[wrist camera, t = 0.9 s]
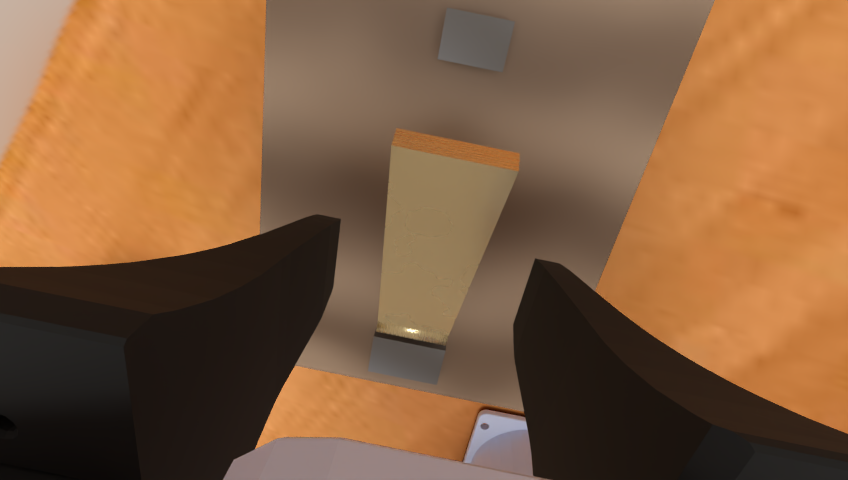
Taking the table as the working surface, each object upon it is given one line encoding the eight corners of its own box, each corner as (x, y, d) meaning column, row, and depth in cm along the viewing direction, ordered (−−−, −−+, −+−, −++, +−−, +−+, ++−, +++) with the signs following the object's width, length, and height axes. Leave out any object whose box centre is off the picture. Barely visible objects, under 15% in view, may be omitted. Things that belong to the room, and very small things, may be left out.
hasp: (447, 327, 20) (444, 349, 19) (380, 314, 20) (375, 335, 19) (520, 147, 11) (518, 177, 10) (398, 122, 11) (389, 151, 10)
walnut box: (531, 360, 25) (549, 447, 20) (286, 310, 25) (239, 384, 20) (664, 2, 17) (751, -11, 12) (310, -71, 17) (242, -116, 12)
